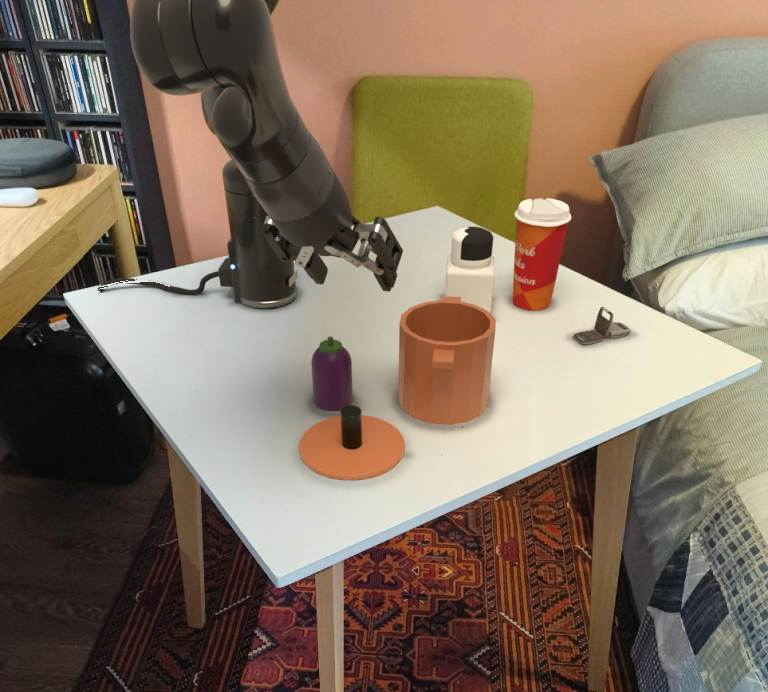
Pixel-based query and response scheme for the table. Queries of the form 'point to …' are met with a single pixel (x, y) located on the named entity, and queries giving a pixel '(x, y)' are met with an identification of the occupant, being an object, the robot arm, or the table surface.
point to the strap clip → (603, 329)
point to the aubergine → (332, 376)
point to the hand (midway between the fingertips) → (355, 280)
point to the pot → (445, 360)
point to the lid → (351, 446)
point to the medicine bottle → (471, 267)
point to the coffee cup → (538, 251)
